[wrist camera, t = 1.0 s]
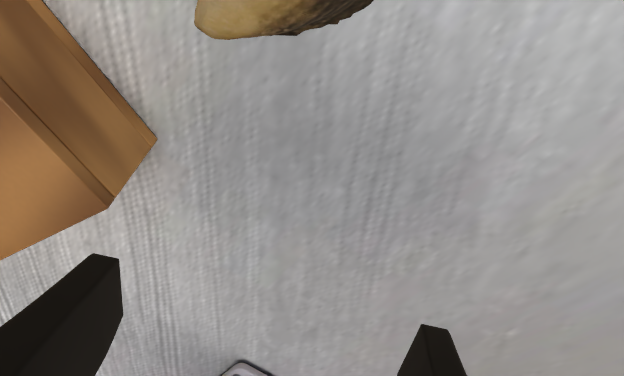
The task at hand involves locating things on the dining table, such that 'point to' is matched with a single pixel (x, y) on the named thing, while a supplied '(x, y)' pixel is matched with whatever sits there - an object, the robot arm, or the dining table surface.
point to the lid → (39, 180)
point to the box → (70, 93)
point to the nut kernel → (270, 16)
